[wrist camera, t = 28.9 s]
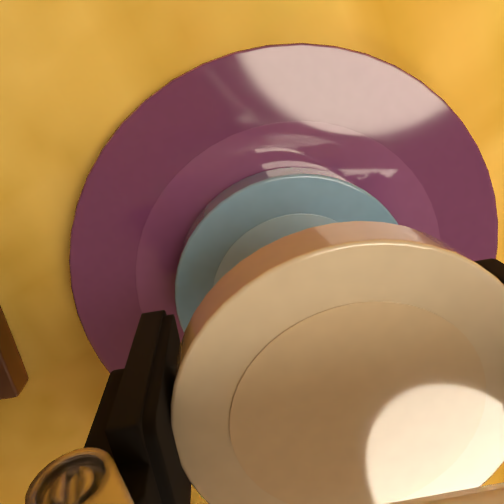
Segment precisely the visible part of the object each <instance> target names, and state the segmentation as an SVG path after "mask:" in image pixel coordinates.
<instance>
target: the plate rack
mask: <svg viewBox="0 0 504 504" xmlns="http://www.w3.org/2000/svg"><path fill="white" fill-rule="evenodd" d="M27 381H28V375H27V373H26V370H25V368H24V365H23V363H22V360H21V358H20V355H19V352H18V350H17V347H16V345H15V342H14V340H13V337H12V335H11V332H10V329H9V327H8V324H7V322H6V319H5V317H4V314H3V311H2V309H1V306H0V400H1V399H7V398H13V397H17V396H18V395H19V394H20V392H21V391H22V389H23V387H24V386H25V384H26V383H27Z"/></svg>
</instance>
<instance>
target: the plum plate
mask: <svg viewBox="0 0 504 504" xmlns="http://www.w3.org/2000/svg"><path fill="white" fill-rule="evenodd" d="M289 167H302V168H313V169H318V170H323V171H327V172H330V173H333V174H336V175H338V176H341V177H343V178H345V179H347V180H349V181H351V182H352V183H354V184H356V185H357V186H359V187H360V188H362V189H364V190H365V191H366V192H368V193H369V194H371V195H372V196H373V197H375V198H376V199H377V200H379V201H380V202H381V203H382V204H383V205H384V206H385V207H386V208H387V209H388V210H389V212H390V213H391V214H392V216H393V217H394V218H395V220H396V221H397V223H398V225H402V226H406V227H410V228H413V229H416V230H419V231H422V232H425V233H427V234H429V235H431V236H433V237H435V238H437V239H439V240H441V241H443V242H445V243H447V244H449V245H450V246H452V247H453V248H455V249H456V250H458V251H459V252H461V253H462V254H464V255H465V256H467V257H468V258H470V259H471V260H473V261H478V260H484V259H490V258H494V259H496V254H497V245H498V218H497V209H496V200H495V194H494V191H493V187H492V183H491V179H490V176H489V172H488V169H487V167H486V164H485V162H484V160H483V158H482V155H481V153H480V151H479V148H478V146H477V144H476V143H475V141H474V140H473V138H472V136H471V135H470V133H469V132H468V130H467V128H466V127H465V125H464V124H463V122H462V121H461V120H460V118H459V117H458V116H457V115H456V114H455V113H454V112H453V110H452V109H451V108H450V107H449V106H448V105H447V104H446V102H445V101H444V100H443V99H442V98H440V97H439V96H438V95H437V94H436V93H435V92H433V91H432V90H431V89H430V88H429V87H427V86H426V85H425V84H424V83H423V82H421V81H420V80H418V79H417V78H415V77H413V76H412V75H410V74H408V73H407V72H405V71H403V70H402V69H400V68H398V67H397V66H395V65H393V64H390V63H388V62H386V61H383V60H381V59H378V58H376V57H373V56H371V55H369V54H366V53H362V52H358V51H354V50H350V49H346V48H341V47H337V46H331V45H319V44H308V43H292V44H276V45H265V46H261V47H256V48H251V49H246V50H241V51H237V52H233V53H230V54H228V55H225V56H222V57H219V58H217V59H214V60H211V61H208V62H206V63H203V64H201V65H199V66H197V67H195V68H193V69H192V70H190V71H188V72H186V73H184V74H182V75H180V76H178V77H177V78H175V79H173V80H171V81H170V82H169V83H167V84H166V85H165V86H163V87H162V88H161V89H159V90H158V91H156V92H155V93H154V94H152V95H151V96H150V97H148V98H147V99H146V100H145V101H144V102H143V103H142V104H141V105H139V106H138V107H137V108H136V109H135V110H134V111H133V112H132V113H131V114H130V115H129V116H128V117H127V118H126V119H125V120H124V121H123V122H122V123H121V125H120V126H119V127H118V129H117V130H116V131H115V133H114V134H113V135H112V137H111V138H110V139H109V141H108V142H107V143H106V144H105V146H104V147H103V148H102V150H101V152H100V154H99V156H98V158H97V159H96V161H95V163H94V165H93V167H92V168H91V170H90V172H89V174H88V176H87V178H86V181H85V184H84V186H83V189H82V192H81V194H80V197H79V200H78V203H77V206H76V211H75V215H74V220H73V225H72V230H71V238H70V255H69V265H70V276H71V288H72V292H73V296H74V300H75V305H76V309H77V313H78V316H79V318H80V321H81V323H82V326H83V328H84V331H85V333H86V336H87V338H88V340H89V342H90V344H91V345H92V347H93V349H94V351H95V352H96V354H97V356H98V358H99V359H100V361H101V362H102V363H103V365H104V366H105V367H106V369H107V370H108V371H109V373H110V374H111V372H112V371H113V370H117V369H123V368H125V365H126V362H127V359H128V356H129V352H130V349H131V346H132V343H133V339H134V336H135V333H136V330H137V327H138V323H139V320H140V317H141V314H142V313H147V312H154V311H160V310H165V311H166V314H167V315H171V314H174V316H175V320H176V324H177V329H178V333H179V338H180V342H181V341H182V338H183V335H184V332H183V330H182V328H181V325H180V322H179V319H178V315H177V312H176V305H175V278H176V272H177V266H178V260H179V255H180V251H181V248H182V245H183V242H184V239H185V237H186V235H187V233H188V231H189V229H190V227H191V226H192V224H193V222H194V221H195V219H196V218H197V216H198V215H199V214H200V213H201V211H202V210H203V209H204V208H205V207H206V206H207V204H208V203H209V202H211V201H212V200H213V199H214V198H215V197H216V196H217V195H218V194H220V193H221V192H222V191H224V190H225V189H227V188H228V187H230V186H231V185H233V184H235V183H237V182H239V181H240V180H242V179H244V178H246V177H249V176H252V175H255V174H257V173H260V172H263V171H268V170H273V169H278V168H289Z"/></svg>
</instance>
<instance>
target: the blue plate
mask: <svg viewBox="0 0 504 504" xmlns="http://www.w3.org/2000/svg"><path fill="white" fill-rule="evenodd" d="M350 221H372V222H385V223H391V224H396V225H398V223H397V221H396V220H395V218H394V217H393V216H392V214H391V213H390V212H389V210H388V209H387V208H386V207H385V206H384V205H383V204H382V203H381V202H380V201H379V200H377V199H376V198H375V197H373V196H372V195H371V194H369V193H368V192H366V191H365V190H364V189H362V188H360V187H359V186H357V185H356V184H354V183H352V182H351V181H349V180H347V179H345V178H343V177H341V176H338V175H336V174H333V173H330V172H327V171H323V170H318V169H313V168H302V167H289V168H278V169H273V170H268V171H263V172H260V173H257V174H255V175H252V176H249V177H246V178H244V179H242V180H240V181H239V182H237V183H235V184H233V185H231V186H230V187H228V188H227V189H225V190H224V191H222V192H221V193H220V194H218V195H217V196H216V197H215V198H214V199H213V200H212V201H211V202H209V203H208V204H207V206H206V207H205V208H204V209H203V210H202V211H201V213H200V214H199V215H198V216H197V218H196V219H195V221H194V222H193V224H192V226H191V227H190V229H189V231H188V233H187V235H186V237H185V239H184V242H183V245H182V248H181V251H180V255H179V260H178V266H177V272H176V278H175V305H176V312H177V315H178V319H179V322H180V325H181V328H182V330H183V332H185V330H186V328H187V326H188V324H189V322H190V320H191V318H192V316H193V314H194V312H195V310H196V309H197V308H198V306H199V305H200V303H201V302H202V300H203V299H204V297H205V296H206V294H207V293H208V292H209V291H210V290H211V289H212V288H213V287H214V286H215V284H216V283H217V282H218V281H219V280H220V279H221V278H222V277H223V276H224V275H225V274H226V273H228V272H229V271H230V270H231V269H232V268H233V267H235V266H236V265H237V264H238V263H239V262H240V261H242V260H243V259H245V258H246V257H248V256H250V255H251V254H253V253H254V252H256V251H257V250H259V249H260V248H262V247H264V246H266V245H268V244H270V243H272V242H274V241H276V240H278V239H280V238H282V237H284V236H287V235H290V234H293V233H296V232H299V231H302V230H305V229H308V228H312V227H316V226H321V225H326V224H331V223H339V222H350Z"/></svg>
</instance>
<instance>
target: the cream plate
mask: <svg viewBox="0 0 504 504" xmlns="http://www.w3.org/2000/svg"><path fill="white" fill-rule="evenodd" d="M170 421H171V427H172V431H173V435H174V439H175V444H176V448H177V451H178V455H179V459H180V463H181V466H182V468H183V470H184V472H185V474H186V475H187V477H188V479H189V481H190V482H191V484H192V485H193V486H194V488H195V489H196V490H197V491H198V493H199V494H200V495H201V496H202V497H203V498H204V499H205V500H206V501H207V502H208V503H209V504H387V503H393V502H398V501H404V500H409V499H415V498H420V497H426V496H432V495H437V494H443V493H448V492H454V491H459V490H465V489H470V488H476V487H480V486H481V485H482V484H483V483H485V482H486V481H487V480H488V479H489V478H490V477H491V476H492V475H493V474H494V473H495V471H496V470H497V469H498V468H499V467H500V466H501V465H502V463H503V462H504V284H503V283H502V282H501V281H500V280H499V279H498V278H497V277H496V276H494V275H493V274H492V273H490V272H489V271H487V270H486V269H485V268H483V267H482V266H480V265H479V264H478V263H476V262H475V261H473V260H471V259H470V258H468V257H467V256H465V255H464V254H462V253H461V252H459V251H458V250H456V249H455V248H453V247H452V246H450V245H449V244H447V243H445V242H443V241H441V240H439V239H437V238H435V237H433V236H431V235H429V234H427V233H425V232H422V231H419V230H416V229H413V228H410V227H406V226H402V225H396V224H391V223H385V222H372V221H350V222H339V223H331V224H326V225H321V226H316V227H312V228H308V229H305V230H302V231H299V232H296V233H293V234H290V235H287V236H284V237H282V238H280V239H278V240H276V241H274V242H272V243H270V244H268V245H266V246H264V247H262V248H260V249H259V250H257V251H256V252H254V253H253V254H251V255H250V256H248V257H246V258H245V259H243V260H242V261H240V262H239V263H238V264H237V265H236V266H235V267H233V268H232V269H231V270H230V271H229V272H228V273H226V274H225V275H224V276H223V277H222V278H221V279H220V280H219V281H218V282H217V283H216V284H215V286H214V287H213V288H212V289H211V290H210V291H209V292H208V293H207V294H206V296H205V297H204V299H203V300H202V302H201V303H200V305H199V306H198V308H197V309H196V310H195V312H194V314H193V316H192V318H191V320H190V322H189V324H188V326H187V328H186V330H185V332H184V335H183V338H182V341H181V344H180V347H179V350H178V355H177V362H176V368H175V374H174V381H173V389H172V396H171V403H170Z"/></svg>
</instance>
